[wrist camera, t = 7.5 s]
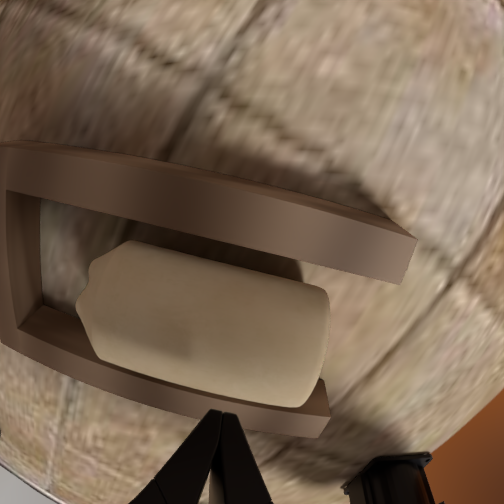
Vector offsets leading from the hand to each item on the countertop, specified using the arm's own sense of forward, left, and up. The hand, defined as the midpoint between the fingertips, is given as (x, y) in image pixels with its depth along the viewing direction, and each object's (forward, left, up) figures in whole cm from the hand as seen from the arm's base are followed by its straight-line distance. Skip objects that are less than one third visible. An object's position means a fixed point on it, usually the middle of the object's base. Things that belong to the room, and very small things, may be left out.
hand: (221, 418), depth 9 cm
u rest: (+3, 0, -8) cm, 8 cm away
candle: (-3, 0, -5) cm, 6 cm away
